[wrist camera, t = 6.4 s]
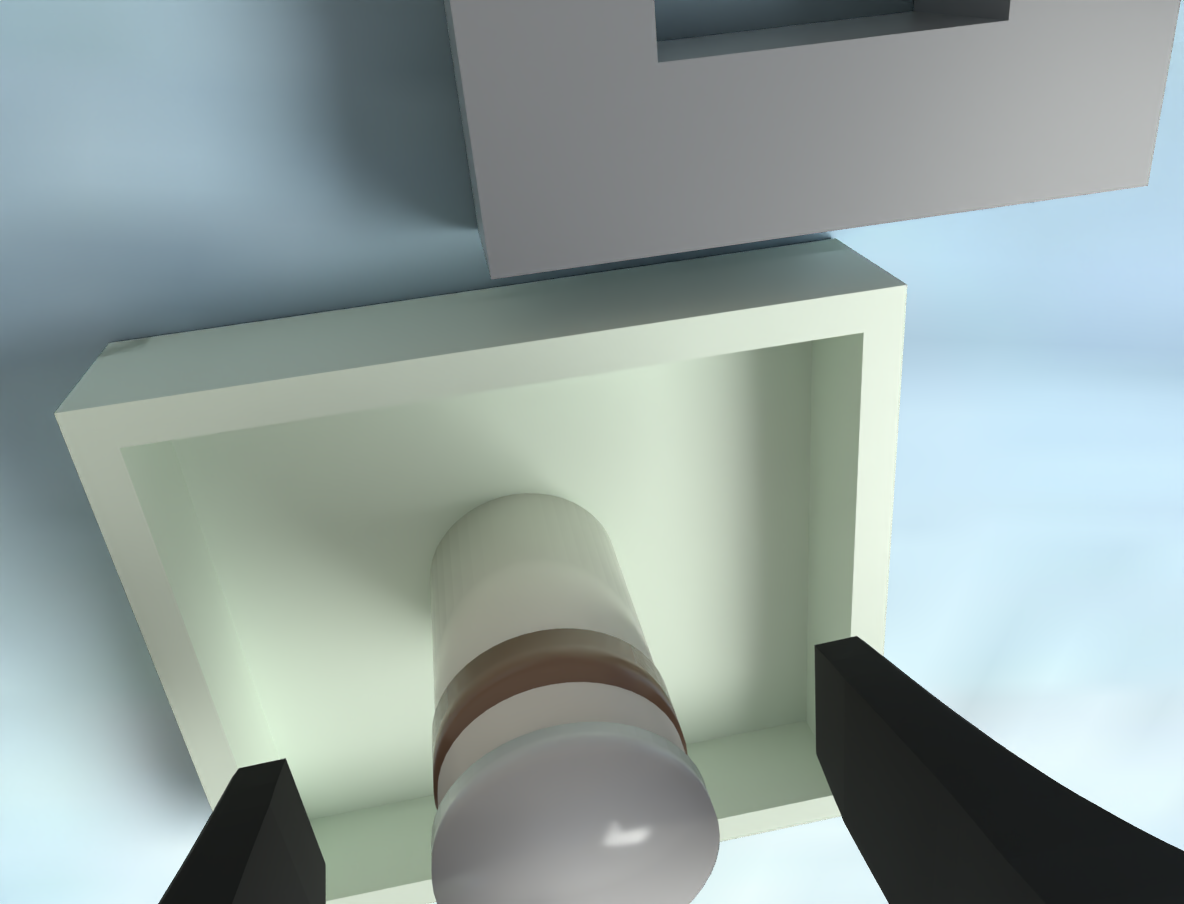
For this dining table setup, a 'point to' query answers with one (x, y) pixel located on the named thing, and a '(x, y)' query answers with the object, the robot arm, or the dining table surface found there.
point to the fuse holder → (791, 120)
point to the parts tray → (486, 472)
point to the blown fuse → (554, 723)
